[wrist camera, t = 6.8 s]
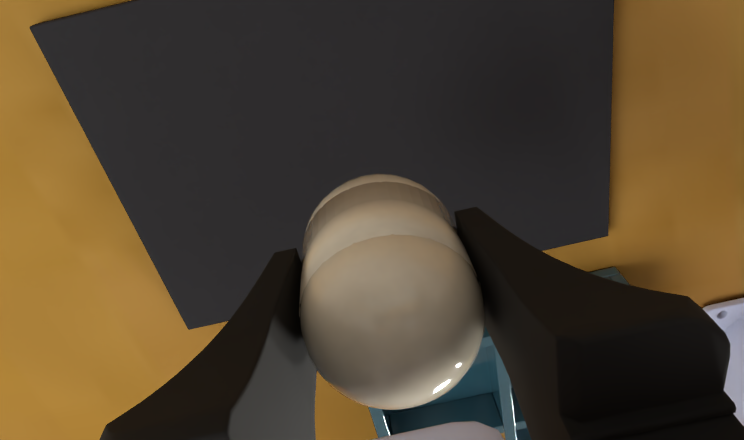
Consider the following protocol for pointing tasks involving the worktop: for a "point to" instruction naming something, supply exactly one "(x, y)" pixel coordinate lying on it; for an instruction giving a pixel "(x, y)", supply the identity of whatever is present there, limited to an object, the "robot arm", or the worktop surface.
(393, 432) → the teal compartment tray
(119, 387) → the worktop surface
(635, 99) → the worktop surface
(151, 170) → the mat
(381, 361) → the egg
